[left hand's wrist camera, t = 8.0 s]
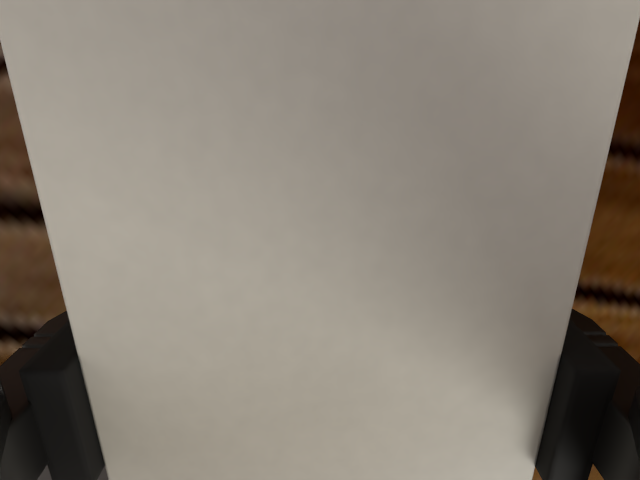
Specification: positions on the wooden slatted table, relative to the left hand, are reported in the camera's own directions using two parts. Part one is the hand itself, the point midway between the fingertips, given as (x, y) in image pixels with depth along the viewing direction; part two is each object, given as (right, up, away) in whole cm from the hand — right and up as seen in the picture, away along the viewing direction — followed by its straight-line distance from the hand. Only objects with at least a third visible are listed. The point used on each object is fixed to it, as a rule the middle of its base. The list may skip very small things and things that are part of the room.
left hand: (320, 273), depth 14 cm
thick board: (0, +18, -6) cm, 19 cm away
